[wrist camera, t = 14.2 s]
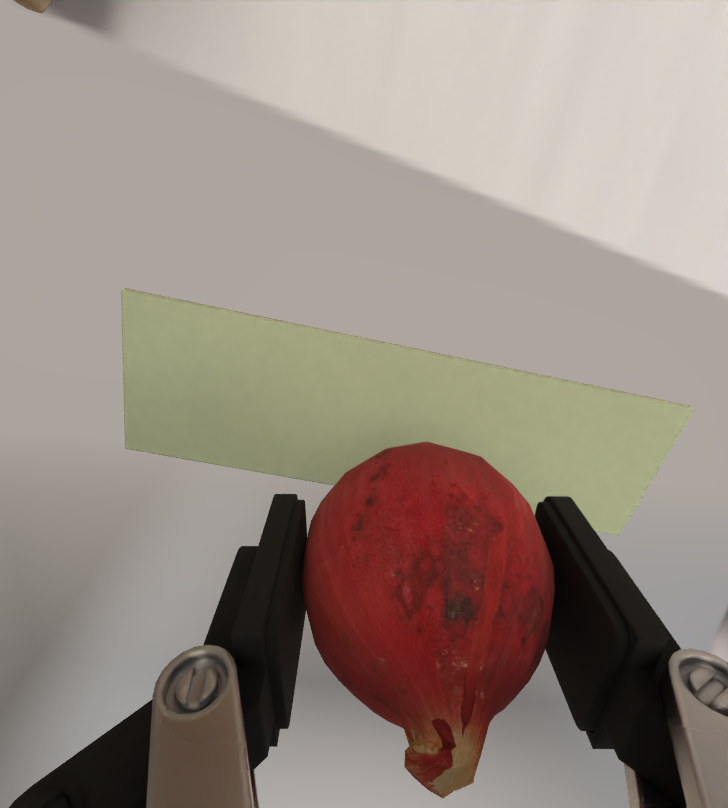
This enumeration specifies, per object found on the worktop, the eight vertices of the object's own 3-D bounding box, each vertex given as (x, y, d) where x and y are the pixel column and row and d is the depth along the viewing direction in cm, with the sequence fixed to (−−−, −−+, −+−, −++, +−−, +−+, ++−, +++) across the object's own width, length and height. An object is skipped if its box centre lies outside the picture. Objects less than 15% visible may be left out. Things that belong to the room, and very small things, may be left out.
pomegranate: (341, 373, 12) (310, 619, 5) (529, 419, 13) (739, 697, 6) (302, 528, 15) (242, 845, 7) (461, 560, 15) (549, 882, 8)
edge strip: (128, 444, 16) (125, 448, 16) (125, 287, 14) (120, 289, 14) (615, 531, 18) (618, 536, 18) (689, 405, 16) (695, 409, 15)
